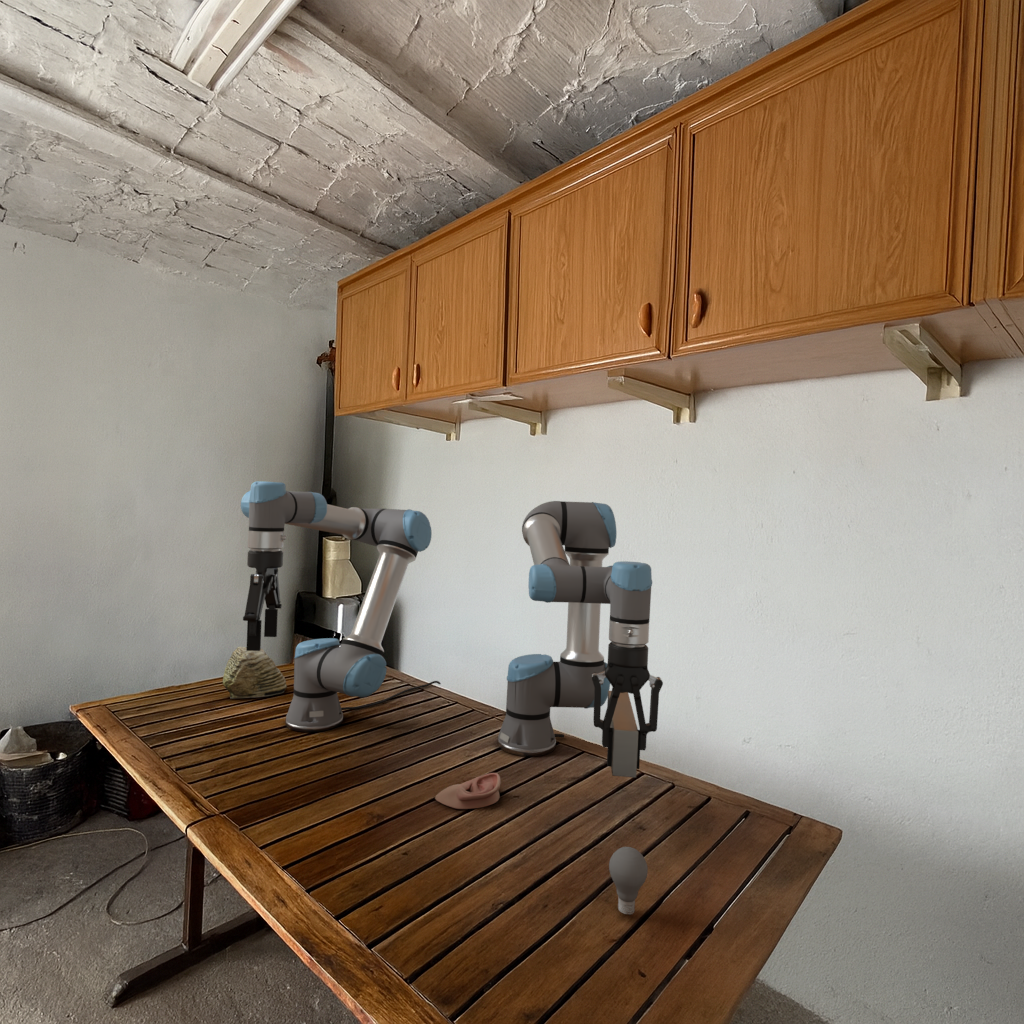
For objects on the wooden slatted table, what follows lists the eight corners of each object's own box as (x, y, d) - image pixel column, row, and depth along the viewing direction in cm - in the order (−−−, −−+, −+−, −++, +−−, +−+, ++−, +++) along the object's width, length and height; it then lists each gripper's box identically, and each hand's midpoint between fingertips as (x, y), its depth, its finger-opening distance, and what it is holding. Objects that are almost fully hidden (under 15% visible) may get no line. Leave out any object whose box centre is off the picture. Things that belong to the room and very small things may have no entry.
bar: (606, 728, 142) (607, 690, 142) (626, 730, 142) (628, 691, 141) (612, 775, 117) (614, 729, 117) (636, 777, 117) (638, 731, 117)
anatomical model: (430, 786, 132) (447, 764, 143) (430, 805, 132) (446, 781, 143) (492, 795, 129) (504, 771, 140) (492, 814, 129) (504, 789, 140)
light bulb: (603, 900, 103) (606, 839, 103) (639, 899, 103) (642, 839, 103) (612, 924, 97) (615, 860, 97) (650, 924, 97) (653, 860, 97)
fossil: (218, 695, 195) (220, 647, 195) (278, 685, 208) (279, 640, 207) (228, 703, 189) (230, 653, 188) (289, 692, 201) (290, 645, 201)
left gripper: (267, 555, 131) (264, 657, 132) (295, 546, 156) (292, 631, 156) (230, 554, 130) (226, 656, 131) (264, 545, 155) (260, 631, 155)
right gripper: (582, 644, 118) (576, 769, 118) (678, 650, 116) (672, 777, 116) (582, 636, 125) (576, 753, 126) (672, 642, 123) (666, 761, 124)
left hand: (262, 643), depth 143 cm, fingers open, 13 cm apart
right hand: (622, 764), depth 121 cm, fingers closed on bar, 4 cm apart
